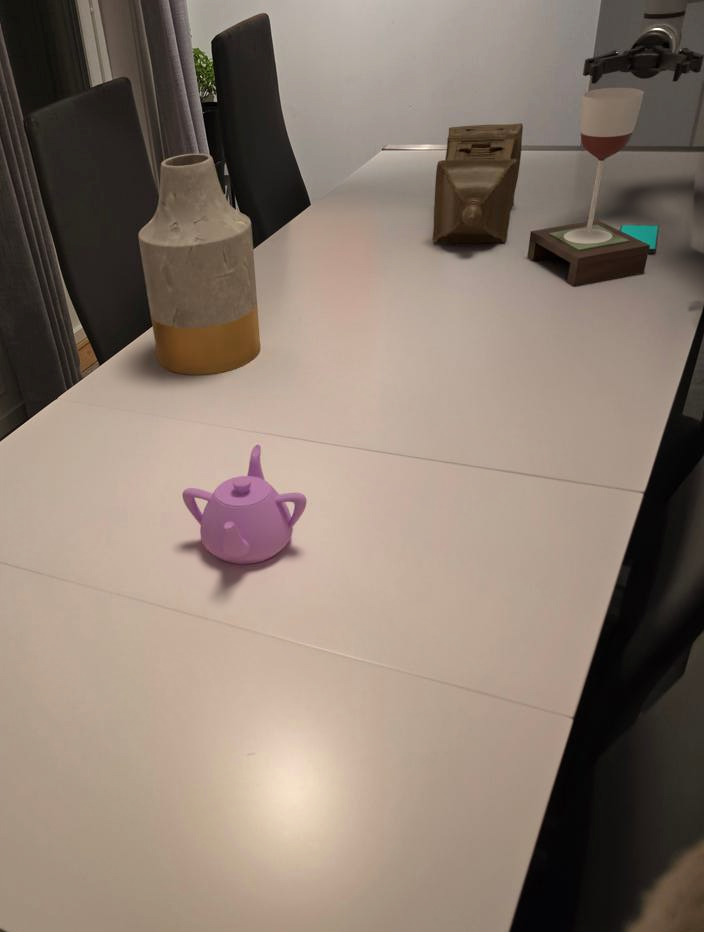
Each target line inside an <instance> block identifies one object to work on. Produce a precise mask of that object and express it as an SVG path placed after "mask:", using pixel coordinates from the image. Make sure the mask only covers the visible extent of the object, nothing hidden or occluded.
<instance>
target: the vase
mask: <svg viewBox="0 0 704 932" xmlns="http://www.w3.org/2000/svg"><path fill="white" fill-rule="evenodd" d="M159 179H160V180H159V181H160V183H159V197H158V203H157V208H156V211H155V212H154V215H153V216H152V218H151V220H149V222H147V223H146V224H145V225H144V226H143V227H141V229H140V230H139V232H138V243H139V249H140V256H141V264H142V269H143V275H144V282H145V287H146V294H147V300H148V307H149V313H150V320H151V325H152V332H153V337H154V344H155V351H156V357H157V362H158V364H159V365H160V367H162V368H163V369H165V370H167V371H168V372H171V373H175V374H181V375H188V376H206V375H207V376H208V375H215V374H220V373H225V372H229V371H232V370H235V369H238V368H241V367H243V366H246V365H247V364H248V363H251V362H252V361H253V360H254V359H256V358H257V357H258V356H259V354H260V352H261V337H260V323H259V309H258V297H257V296H258V295H257V294H258V293H257V282H256V281H257V280H256V269H255V268H256V267H255V255H254V242H253V241H254V239H253V230H252V228H253V227H252V221H251V219H250V217H249V216H247V215H246V214H244V213H242V212H240V211H239V210H237V209H235V208H234V207H233V206H232V205H231V204H230V203H229V201H228V200H227V198H226V197H225V194H224V192H223V189H222V186H221V183H220V180H219V177H218V173H217V169H216V165H215V163H214V158H213V157H212V155H210V154H206V153H187V154H180V155H175V156H172V157H169V158H166V159H164V160H163V161H162V162H161V164H160V177H159Z"/></svg>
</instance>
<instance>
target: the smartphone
mask: <svg viewBox="0 0 704 932" xmlns="http://www.w3.org/2000/svg"><path fill="white" fill-rule="evenodd" d="M619 230H620V231H622V232H624V233H626V234H628V235H630V236H632V237H634V238H636V239H638V240H640V241H642V242H645V243H647V244H649V245H650V248H649V252H648V254H656V252H657V246H658V241H659V239H658V238H659V231H660V224H621V225H620V228H619Z"/></svg>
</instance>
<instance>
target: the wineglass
mask: <svg viewBox="0 0 704 932" xmlns="http://www.w3.org/2000/svg"><path fill="white" fill-rule="evenodd" d="M644 94H645V91H643V90H642V89H638V88H632V87H605V88H604V87H603V88H597V89H596V88H595V89H591V90H587V91H585V92H584V93H583V95H582V102H581V113H580V140H581V144H582V147H583V148H584V149H585V150H586V151H587V152H588V153H589V154H591V155H592V156H593V157H595V158H596V159H597V160H598V163H597V168H596V173H595V174H596V175H595V181H594V185H593V191H592V196H591V203H590V208H589V212H588V220H587V221H588V224H587V229H579V230H574V231H570V232H567V233H566V234H564V238H565V239H566V240H568V241H570V242H575V243H582V244H592V243H600V242H605V241H607V240H610V239H611V238H612V234H611V233H609V232H607V231H604V230H598V229H592V224H593V220H594V218H595V212H596V207H597V201H598V196H599V191H600V185H601V179H602V173H603V168H604V163H605V160H606V159H608V158H610V157H611V156H613V155H615V154H617V153H619V152H620V151H622V150H623V149H624V148H625V147H626V146H627V144H628V143H629V142H630V139H631V137H632V135H633V132H634V130H635V128H636V124H637V121H638V118H639V114H640V110H641V107H642V103H643V99H644Z"/></svg>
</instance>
